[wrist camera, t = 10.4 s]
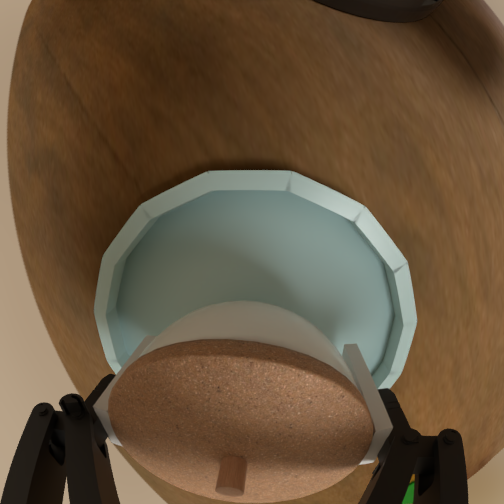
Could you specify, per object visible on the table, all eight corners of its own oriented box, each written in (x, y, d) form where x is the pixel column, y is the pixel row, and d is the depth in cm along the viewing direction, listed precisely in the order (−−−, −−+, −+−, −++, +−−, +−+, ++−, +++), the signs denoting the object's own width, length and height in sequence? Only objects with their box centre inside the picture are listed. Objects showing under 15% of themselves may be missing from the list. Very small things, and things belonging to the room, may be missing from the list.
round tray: (99, 181, 16) (78, 182, 14) (416, 183, 15) (436, 184, 12) (142, 414, 21) (133, 431, 19) (365, 424, 20) (371, 443, 18)
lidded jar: (268, 429, 17) (261, 536, 8) (141, 358, 17) (73, 459, 8) (373, 333, 15) (438, 453, 6) (223, 229, 14) (142, 310, 5)
